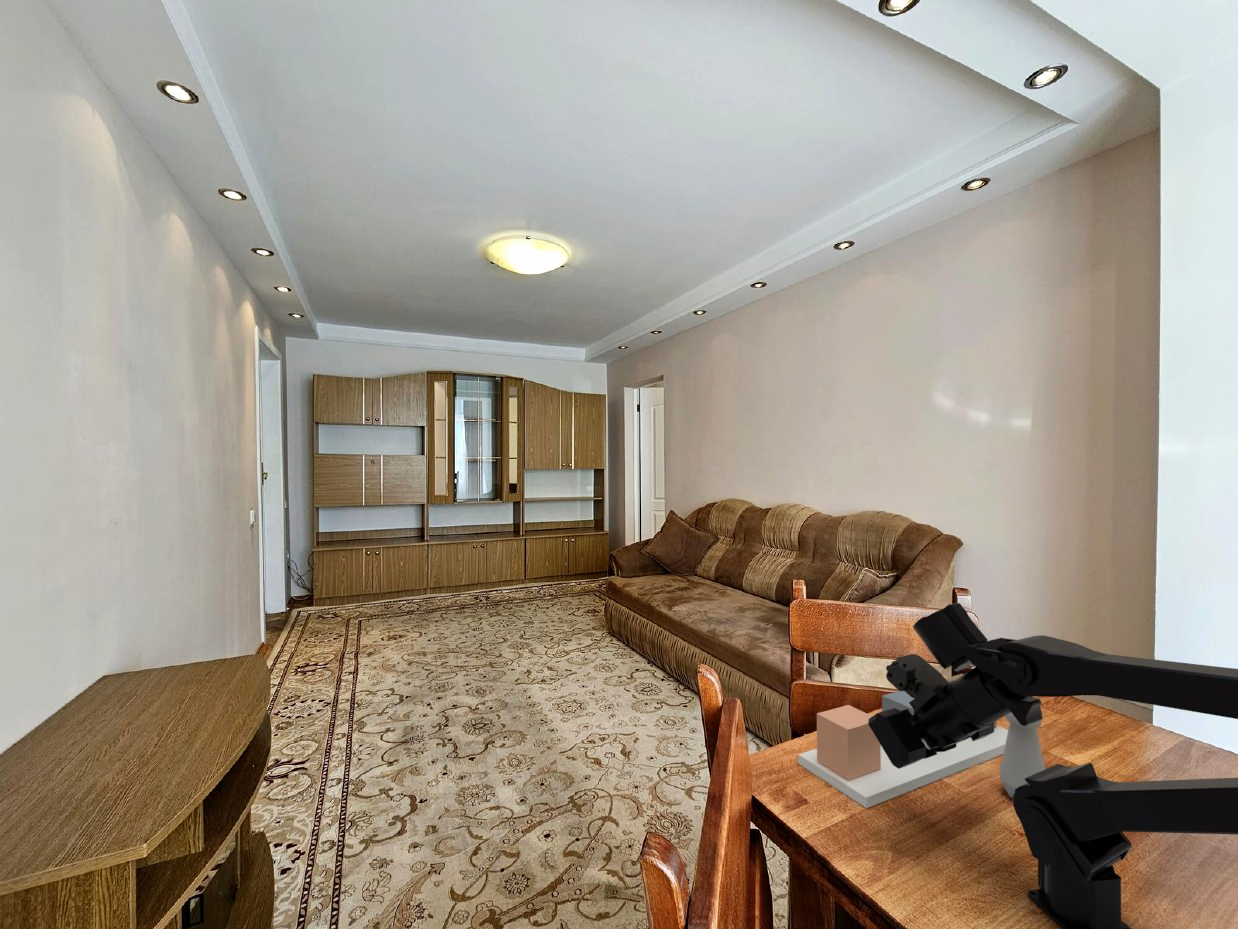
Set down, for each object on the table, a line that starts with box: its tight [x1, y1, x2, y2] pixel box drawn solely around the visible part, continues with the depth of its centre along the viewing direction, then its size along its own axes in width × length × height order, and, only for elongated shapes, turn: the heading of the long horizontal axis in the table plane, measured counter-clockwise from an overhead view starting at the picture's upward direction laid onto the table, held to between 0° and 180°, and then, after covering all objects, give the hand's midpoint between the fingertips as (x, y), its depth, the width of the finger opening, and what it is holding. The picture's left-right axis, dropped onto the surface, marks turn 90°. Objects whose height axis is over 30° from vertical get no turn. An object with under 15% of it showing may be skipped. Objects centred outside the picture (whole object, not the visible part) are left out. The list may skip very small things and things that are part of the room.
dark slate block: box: [881, 690, 914, 715], centre depth 92 cm, size 6×7×8 cm
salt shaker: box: [998, 713, 1046, 800], centre depth 80 cm, size 6×6×13 cm
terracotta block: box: [816, 704, 881, 780], centre depth 85 cm, size 6×7×8 cm
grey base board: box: [797, 725, 1008, 809], centre depth 91 cm, size 39×13×2 cm, turn 116°
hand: (893, 749), depth 78 cm, fingers closed
